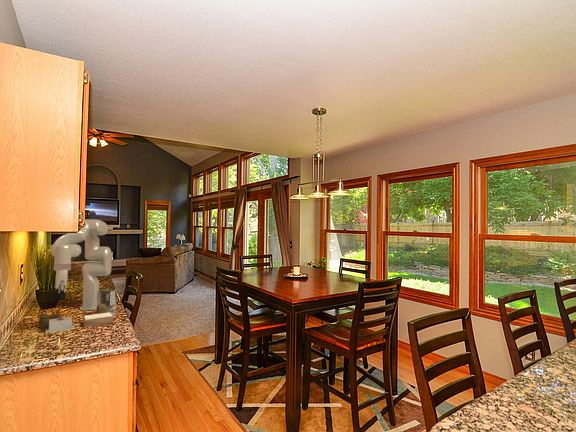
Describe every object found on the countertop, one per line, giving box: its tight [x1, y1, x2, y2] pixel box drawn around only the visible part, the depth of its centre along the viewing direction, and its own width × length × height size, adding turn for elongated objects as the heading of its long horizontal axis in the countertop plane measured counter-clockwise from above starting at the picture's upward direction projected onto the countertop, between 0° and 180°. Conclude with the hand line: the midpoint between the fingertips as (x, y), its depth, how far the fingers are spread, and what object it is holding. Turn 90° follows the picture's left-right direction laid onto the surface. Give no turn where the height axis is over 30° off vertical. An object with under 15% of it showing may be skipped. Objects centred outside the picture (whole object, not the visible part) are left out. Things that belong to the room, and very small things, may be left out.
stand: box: [82, 312, 114, 328], centre depth 188 cm, size 9×14×4 cm, turn 127°
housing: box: [44, 316, 76, 334], centre depth 176 cm, size 6×13×6 cm, turn 127°
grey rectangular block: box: [38, 312, 61, 330], centre depth 185 cm, size 6×10×20 cm
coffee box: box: [96, 289, 117, 317], centre depth 203 cm, size 9×6×16 cm
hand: (61, 298), depth 176 cm, fingers open, 9 cm apart
